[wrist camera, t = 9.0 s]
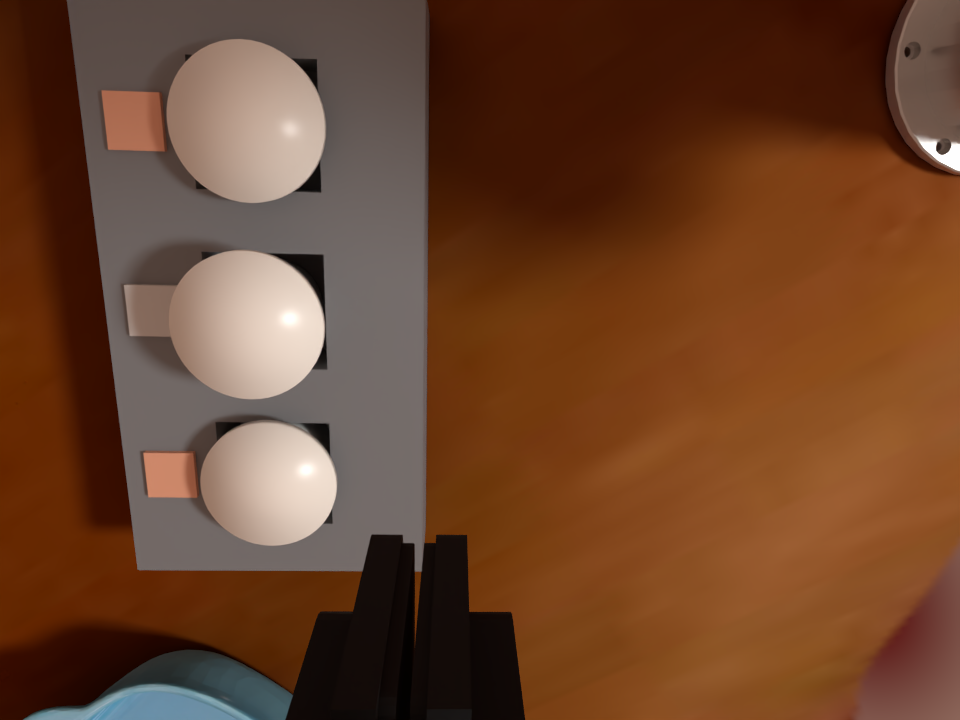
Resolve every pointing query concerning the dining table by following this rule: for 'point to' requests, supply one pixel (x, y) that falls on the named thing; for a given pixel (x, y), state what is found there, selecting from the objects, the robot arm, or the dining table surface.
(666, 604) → the dining table surface
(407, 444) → the button board
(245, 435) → the button
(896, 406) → the dining table surface
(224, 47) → the button
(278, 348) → the button middle
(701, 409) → the dining table surface
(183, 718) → the casserole dish
